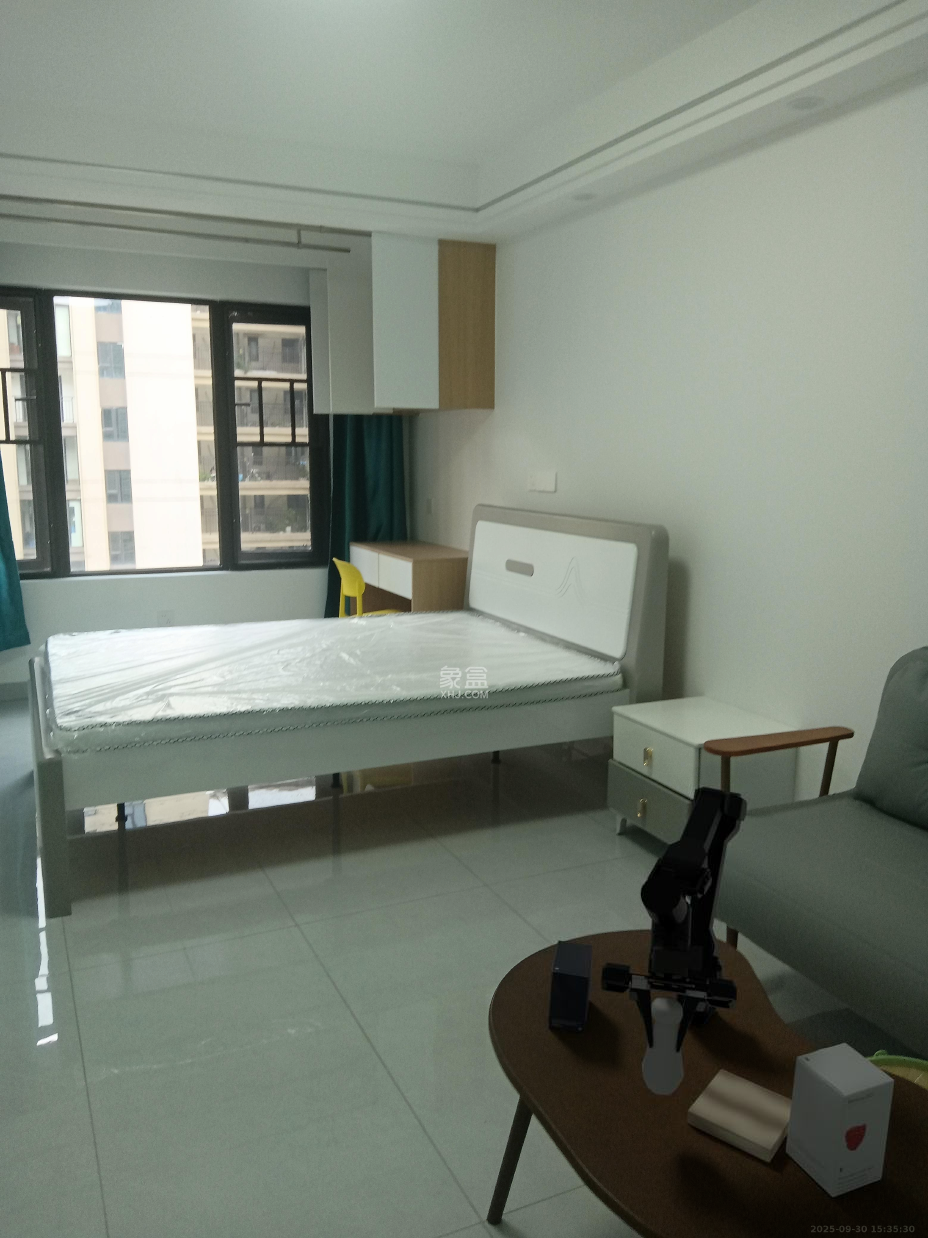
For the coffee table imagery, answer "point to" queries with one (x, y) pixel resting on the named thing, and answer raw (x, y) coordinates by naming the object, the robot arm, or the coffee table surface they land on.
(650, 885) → the robot arm
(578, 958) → the small box
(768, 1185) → the coffee table surface
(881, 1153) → the supplement box
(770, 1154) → the oak block
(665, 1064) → the salt shaker
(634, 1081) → the coffee table surface
